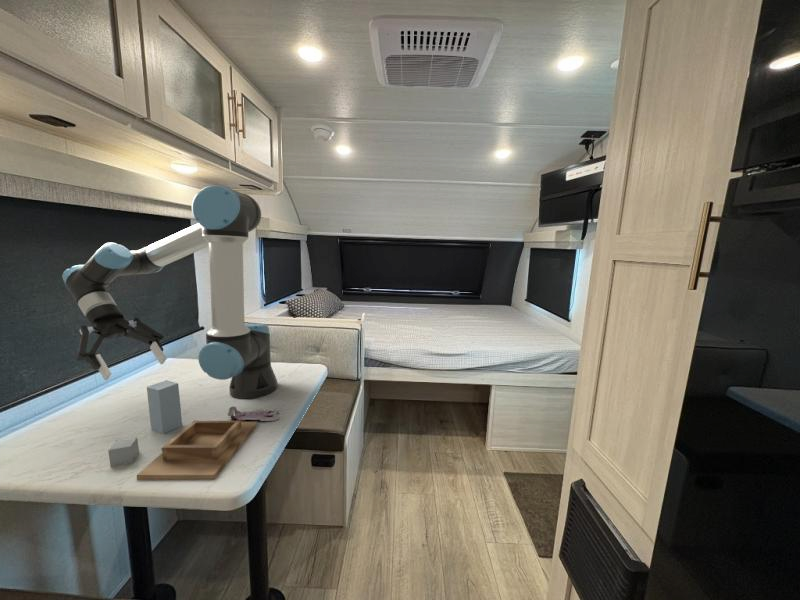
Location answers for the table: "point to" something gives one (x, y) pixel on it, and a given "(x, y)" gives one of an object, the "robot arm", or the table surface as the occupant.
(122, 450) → the grey block
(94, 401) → the table surface
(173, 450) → the tray
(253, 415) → the pink elongated piece
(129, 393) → the table surface
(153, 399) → the block
